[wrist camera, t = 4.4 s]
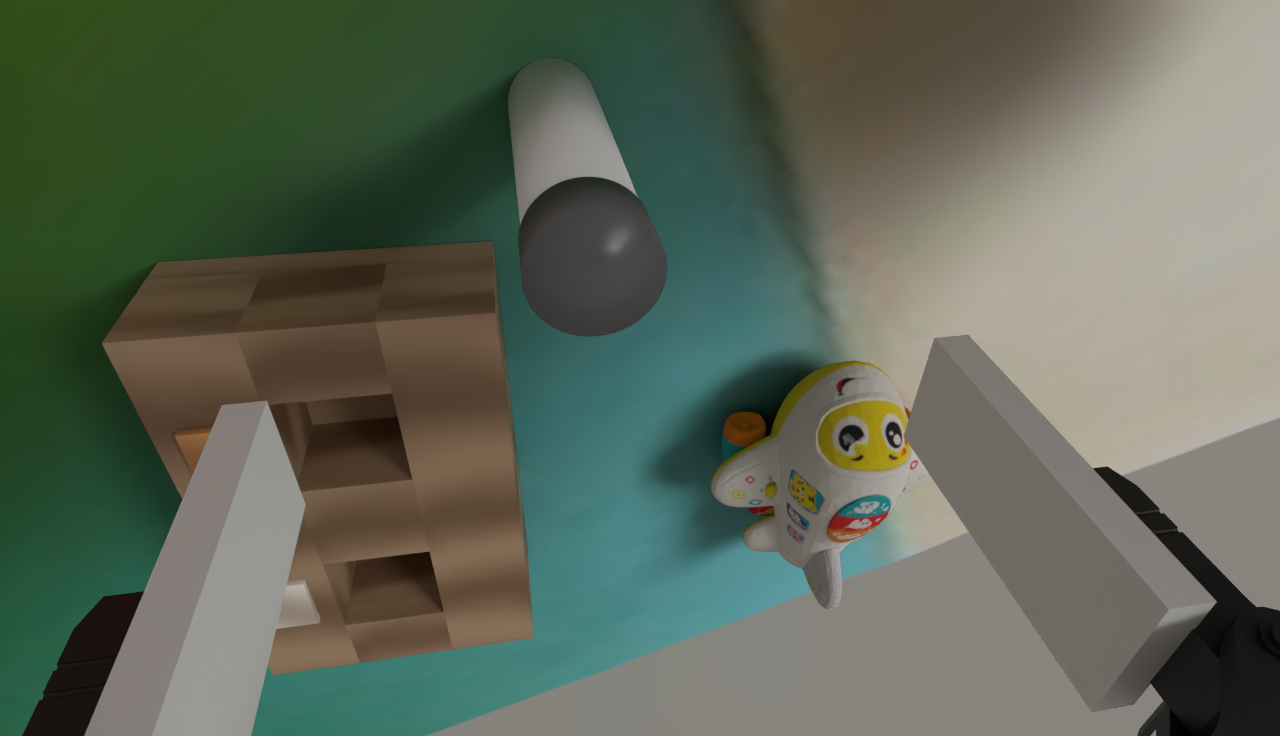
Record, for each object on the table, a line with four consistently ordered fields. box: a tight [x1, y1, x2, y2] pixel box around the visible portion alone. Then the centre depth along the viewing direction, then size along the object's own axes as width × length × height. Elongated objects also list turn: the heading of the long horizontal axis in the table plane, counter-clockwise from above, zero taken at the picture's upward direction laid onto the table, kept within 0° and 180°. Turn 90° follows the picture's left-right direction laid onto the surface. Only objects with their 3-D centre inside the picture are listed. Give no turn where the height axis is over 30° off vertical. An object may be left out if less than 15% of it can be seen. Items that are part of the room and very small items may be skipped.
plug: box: [508, 58, 667, 336], centre depth 25 cm, size 4×4×14 cm
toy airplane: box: [711, 361, 930, 609], centre depth 41 cm, size 13×9×15 cm
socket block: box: [102, 241, 534, 675], centre depth 37 cm, size 22×14×6 cm, turn 179°
